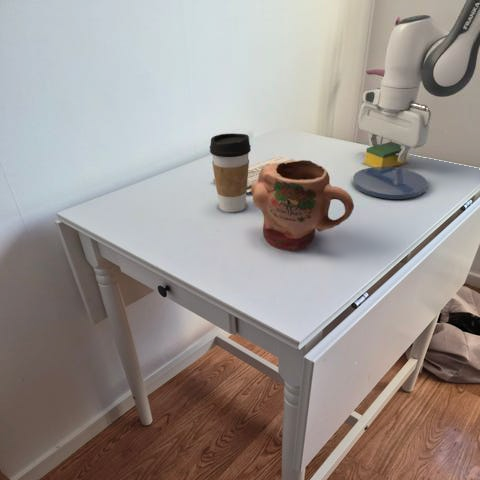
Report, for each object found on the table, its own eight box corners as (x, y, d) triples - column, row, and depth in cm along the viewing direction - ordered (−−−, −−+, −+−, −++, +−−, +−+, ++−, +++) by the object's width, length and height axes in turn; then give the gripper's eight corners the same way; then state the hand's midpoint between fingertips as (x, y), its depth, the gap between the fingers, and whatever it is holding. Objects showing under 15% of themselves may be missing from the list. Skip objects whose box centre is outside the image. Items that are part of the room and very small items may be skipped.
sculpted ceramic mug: (355, 236, 83) (368, 166, 74) (338, 267, 75) (349, 192, 66) (263, 217, 90) (263, 151, 81) (237, 244, 82) (235, 173, 73)
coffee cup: (239, 218, 90) (237, 146, 80) (206, 210, 93) (200, 139, 84) (257, 202, 96) (258, 133, 86) (226, 195, 99) (222, 128, 89)
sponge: (388, 156, 116) (391, 141, 113) (405, 163, 112) (409, 147, 110) (364, 163, 113) (366, 147, 110) (380, 170, 109) (383, 154, 106)
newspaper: (245, 198, 98) (244, 187, 96) (214, 187, 106) (212, 177, 104) (312, 172, 108) (312, 162, 107) (280, 164, 116) (279, 154, 115)
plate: (387, 167, 110) (388, 161, 109) (441, 189, 99) (443, 183, 98) (337, 181, 104) (338, 176, 103) (389, 207, 92) (390, 201, 92)
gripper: (442, 104, 97) (426, 165, 105) (376, 88, 110) (367, 143, 119) (422, 109, 94) (408, 170, 103) (358, 91, 108) (350, 147, 117)
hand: (385, 155), depth 111 cm, fingers open, 8 cm apart
